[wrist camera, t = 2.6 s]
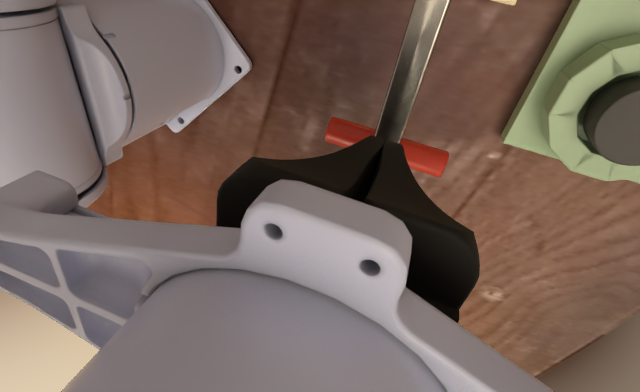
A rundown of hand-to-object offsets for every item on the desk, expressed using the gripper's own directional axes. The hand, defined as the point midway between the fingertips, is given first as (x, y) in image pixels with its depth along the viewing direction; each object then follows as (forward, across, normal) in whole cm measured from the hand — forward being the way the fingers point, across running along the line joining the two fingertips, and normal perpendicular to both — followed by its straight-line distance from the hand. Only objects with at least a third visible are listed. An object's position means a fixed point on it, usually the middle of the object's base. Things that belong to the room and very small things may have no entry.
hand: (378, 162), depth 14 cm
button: (+7, -10, -2) cm, 13 cm away
